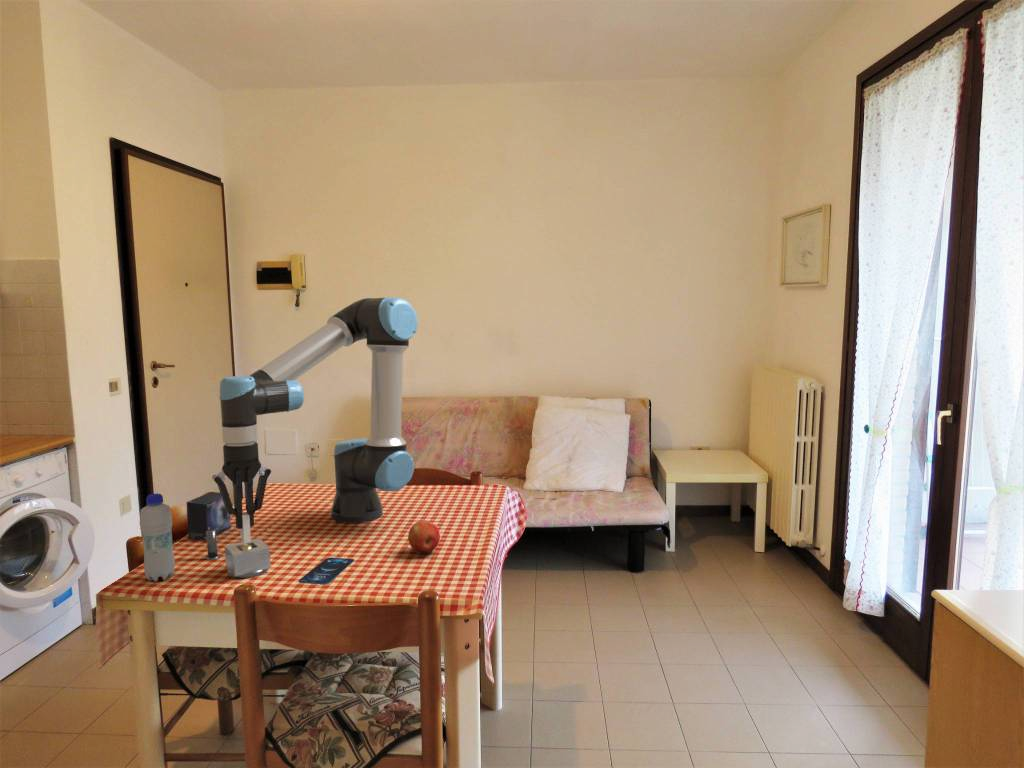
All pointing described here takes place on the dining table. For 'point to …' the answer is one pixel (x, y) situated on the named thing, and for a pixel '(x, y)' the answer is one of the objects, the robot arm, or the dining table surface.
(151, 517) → the bottle
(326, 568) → the smartphone
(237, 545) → the grey hollow block
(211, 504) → the small box
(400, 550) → the dining table surface
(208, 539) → the stand rod
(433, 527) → the apple
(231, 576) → the round stand base
